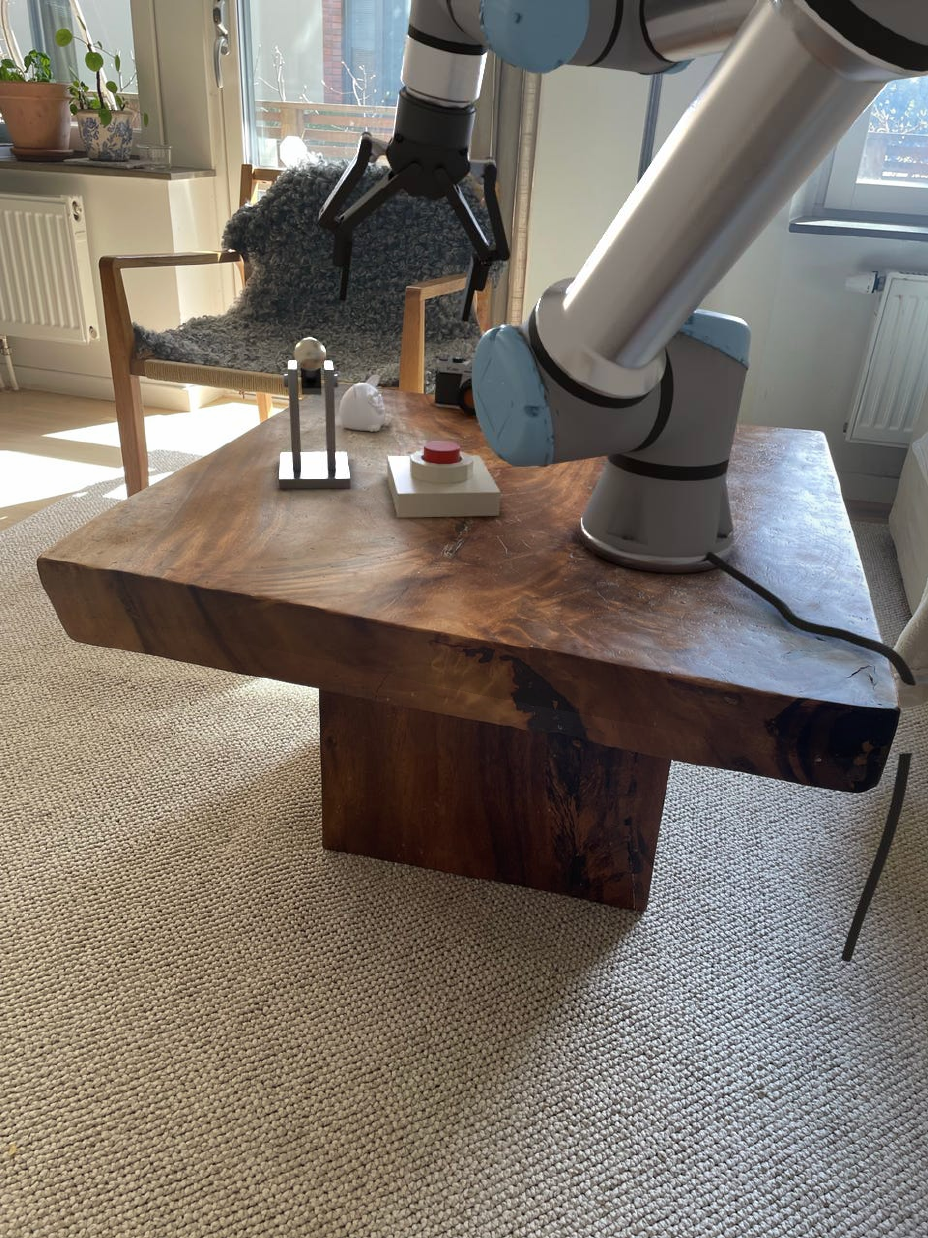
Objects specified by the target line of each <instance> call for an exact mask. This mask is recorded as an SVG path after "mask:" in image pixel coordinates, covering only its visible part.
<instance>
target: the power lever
mask: <svg viewBox="0 0 928 1238" xmlns="http://www.w3.org/2000/svg"><path fill="white" fill-rule="evenodd" d="M293 356H294V361H296V362H297V366H299V367H300V386H301V387H300V388H301V396H302V395H305V396H308V395H309V396H313V395H314V396H321V395H322V369H321V367H322V366H324V362H325V361H326V360H327V352H326V348H325V346H324V345H323V343H322V342H320V340H318V339H316V338H313V337H306V338H303V339H301V340H300V341H298V342H297V344H296V346H295V347H294V351H293Z"/></svg>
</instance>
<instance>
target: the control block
mask: <svg viewBox="0 0 928 1238" xmlns="http://www.w3.org/2000/svg"><path fill="white" fill-rule="evenodd" d="M386 457H387V458H386V463H387V464H386V467H387V468H386V471H387V472H386V473H387V474H386V477H387V482H388V486H389V490H390V494H391V498H392V502H393V505H394V510H395V513H396V517H397V518H452V517H454V518H455V517H456V518H457V517H499V516H500V505H501V491H500V489H499V487H498V485H497V483H496V482H495V481H494V478H493V476H492V475H491V473H490V472H489V470H488V468H487V466H486V464H485V463H484V461H483V459H482V457H481V456H480V455H471V454H469V453H466V452H465V451H462V450H460V462H458V463H453V464H435V463H429V462H427V461H424V449H421V450H416V451H415V452H413V453H411V454H410V455H387V456H386Z"/></svg>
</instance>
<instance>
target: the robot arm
mask: <svg viewBox="0 0 928 1238" xmlns="http://www.w3.org/2000/svg"><path fill="white" fill-rule="evenodd" d="M405 38H406V39H405V46H404V53H403V58H402V59H403V60H402V67H401V74H400V80H401V83H402V84H403V85H404V86H403V87H401V89H399V91H398V95H397V103H396V109H395V117H394V124H393V125H394V126H393V132H392V136H391V138H390V140H389V141H385V140H381V139H379V138H376V137H373V135H372V133H371V132H369V131H363V132H362V133H361V134H360V137H359V142H358V146H357V150H356V154H355V155H354V157H353V159H352V160H351V161H350V163H349V165H348V166H347V168H346V169H345V171H344V173H343V174H342V176H341V178H340V179H339V180H338V182H337V184H336V185H335V187H334V188H333V190H332V191H331V193H330V194H329V196H328V198H327V199H326V201H325V203H324V204H323V205H322V207H321V209H320V210H319V212H318V219H317V223H318V226H319V228H320V229H322V230H323V229H324V230H327V231H329V232H331V234H332V235H333V247H332V255H331V256H332V257H331V263H332V266H333V267H338V268H341V274H340V282H339V283H340V285H339V293H338V294H339V295H338V301H342V302H346V301H347V296H348V295H347V293H348V285H349V278H350V277H349V276H350V268H351V260H352V253H353V244H354V243H353V242H354V230H355V229H356V228H357V227H358V226H359V225H360V224H361V223H363V222H364V221H365V220H366V219H367V218H368V217H370V216H371V215H372V214H373V213H374V212H375V211H377V210H378V209H379V208H380V207H381V206H382V205H383V204H384V203H386V202H387V201H388V200H389V199H390V198H393V197H394V196H396V195H397V194H398V193H399V192H400V191H401V190H402V191H403V193H405V194H407V196H408V197H412V198H413V197H414V198H419V197H420V198H421V197H423V198H425V199H427V200H429V201H433V202H438V201H439V200H443V199H444V198H446V200H447V202H448V204H449V205H450V207H451V209H452V210H453V212H454V214H455V215H456V217H457V218H458V221H459V222H460V224H461V226H462V228H463V230H464V232H465V234H466V235H467V237H468V239H469V241H470V243H471V245H472V247H473V249H474V250H475V252H476V253H473V252H472V253H471V255H470V260H469V264H468V270H467V274H466V279H465V284H464V288H463V295H462V299H461V303H460V307H459V313H460V320H461V322H467V323H468V322H469V319H470V314H471V310H472V305H473V302H474V301H473V300H474V295H475V291H476V292H482V293H483V291H484V290H485V289H486V286H487V282H488V277H489V272H490V268H491V266H492V265H493V263H495V262H498V261H501V262H508V261H509V259H510V258H511V253H510V249H509V244H508V240H507V236H506V235H507V234H506V231H505V227H504V221H503V218H502V213H501V210H500V209H501V208H500V205H499V200H498V196H497V192H496V183H497V174H498V169H497V168H498V167H497V164H496V160H495V159H494V157H493V156H486V157H485V158H484V159H476V158H475V159H474V158H470V157H469V156H470V155H469V151H470V145H471V139H472V134H473V130H474V126H475V125H474V124H475V118H476V113H477V108H476V105H475V104H474V102H475V101H477V100H478V99H479V97H480V94H481V89H482V83H483V77H484V73H485V65H486V61H487V55H488V51H491V52H492V53H494V54H495V55H496V56H497V58H499V60H503V61H504V62H505V63H506V64H507V65H509V66H511V67H514V68H520V69H521V70H523V71H525V72H528V73H530V74H534V75H535V74H536V75H545V74H550V73H552V72H553V71H555V70H557V69H559V68H560V67H563V66H565V65H567V66H575V67H588V68H591V67H593V68H601V69H606V70H607V69H608V70H617V71H623V72H624V71H625V72H632V73H636V74H638V75H641V76H660V75H676V74H678V73H680V72H684V70H687V68H688V67H689V66H690V64H691V63H692V62H693V61H695V60H696V59H699V58H704V57H709V56H713V55H718V54H722V55H721V56H720V57H719V59H718V60H717V62H716V64H715V65H714V67H713V69H712V70H711V71H710V73H709V74H708V76H707V77H706V79H705V80H704V82H703V84H702V85H701V86H700V88H699V89H698V91H697V92H696V94H695V96H694V98H692V100H691V102H690V104H689V105H688V107H687V108H686V110H685V112H683V114H682V116H681V117H680V118H679V120H678V122H677V123H676V125H675V127H674V128H673V130H672V131H671V133H670V134H669V135H668V137H667V139H666V140H665V142H664V143H663V145H662V146H661V148H660V149H659V151H658V152H657V154H656V155H655V157H654V158H653V160H652V161H651V163H650V165H648V167H647V169H646V171H645V172H644V173H643V175H642V177H641V178H640V180H639V181H638V183H637V184H636V186H635V187H634V189H633V191H632V192H631V193H630V195H629V196H628V198H627V200H626V201H625V203H624V204H623V206H622V208H621V209H620V210H619V212H618V213H617V215H616V216H615V218H614V219H613V221H612V223H611V224H610V225H609V227H608V229H607V230H606V232H605V233H604V235H603V236H602V238H601V239H600V241H599V242H598V244H597V245H596V247H595V248H594V250H593V251H592V253H591V254H590V256H589V258H588V259H587V260H586V262H585V264H584V265H583V267H582V269H580V271H579V273H578V274H577V276H576V277H567V278H562V279H560V280H557V281H555V282H554V283H552V284H551V285H549V286H548V287H547V288H546V289H545V290H544V292H543V293H542V294H541V296H540V298H539V299H538V301H536V303H535V305H534V306H533V308H532V310H531V311H530V313H529V315H528V317H527V318H526V319H525V321H523V322H522V323H520V324H518V325H512V324H511V323H507V324H506V323H503V324H501V325H500V326H497V327H493V328H491V329H488V330H487V331H486V332H484V334H483V335H482V337H480V339H479V341H478V343H477V345H476V348H475V350H474V355H473V357H474V359H473V366H472V389H473V400H474V406H475V411H476V415H477V416H476V418H477V421H478V424H479V427H480V431H481V433H482V435H483V437H484V439H485V442H486V443H487V444H488V446H489V447H490V449H491V451H492V452H493V453H494V454H495V455H496V456H497V458H499V459H500V460H501V461H503V462H505V463H507V464H508V465H510V466H512V467H516V468H525V467H539V468H547V467H549V466H552V465H557V464H563V463H570V462H576V461H583V460H589V459H595V458H602V457H606V460H605V461H606V462H605V465H604V468H603V469H602V472H601V474H600V477H599V479H598V480H597V483H596V484H595V487H594V489H593V491H592V492H591V496H590V499H588V502H587V504H586V506H585V508H584V511H583V513H582V517H581V519H580V528H579V540H580V541H581V544H582V545H583V546H584V547H585V548H586V549H587V550H589V551H590V552H592V553H593V554H594V555H596V556H598V557H600V558H602V559H604V560H606V561H609V562H612V563H614V564H617V565H620V566H623V567H628V568H632V569H636V570H642V571H648V572H656V573H667V574H668V573H670V574H685V573H688V574H689V573H696V572H702V571H708V570H711V569H715V568H719V569H720V570H721V571H723V572H724V573H726V574H727V575H728V576H730V577H731V578H733V579H735V580H736V581H737V582H739V583H740V584H742V585H743V586H745V587H746V588H748V589H749V590H751V591H752V592H753V593H755V594H756V595H758V596H759V597H761V598H762V599H763V600H765V601H766V602H767V603H768V604H770V605H771V606H772V607H774V608H775V609H776V610H777V611H778V613H780V615H781V617H782V618H783V619H784V620H785V621H786V622H787V623H789V625H791V626H793V627H794V628H797V629H799V630H801V631H804V632H807V633H810V634H814V635H819V636H824V637H829V638H834V639H837V640H841V641H845V642H847V643H849V644H851V645H854V646H858V647H861V648H863V649H866V650H869V651H872V652H874V653H877V654H880V655H882V656H883V657H885V658H886V659H887V660H888V661H889V663H891V664H892V666H893V667H894V669H895V670H896V672H897V673H898V675H899V677H900V679H901V681H902V682H903V683H904V684H906V685H908V686H911V687H914V686H916V684H917V683H916V680H915V678H914V674H913V672H912V670H911V669H910V667H909V665H908V664H907V662H906V660H905V659H904V658H903V657H902V655H900V654H899V653H898V651H896V650H894V649H893V648H891V647H890V646H888V645H886V644H885V643H883V642H880V641H877V640H875V639H872V638H868V637H866V636H862V635H860V634H857V633H855V632H852V631H849V630H846V629H843V628H839V627H835V626H830V625H829V626H828V625H824V624H818V623H814V622H810V621H807V620H805V619H803V618H801V617H798V616H797V615H796V614H794V612H793V611H792V609H791V608H790V607H789V606H788V605H787V604H786V602H784V601H783V600H782V599H781V598H779V597H778V596H777V595H776V594H774V593H772V592H771V591H770V590H769V589H768V588H765V587H764V586H762V585H761V584H759V583H758V582H757V581H755V580H753V579H752V578H750V577H749V576H747V575H746V574H744V573H743V572H742V571H740V570H739V569H738V568H736V567H734V566H733V565H731V564H730V563H728V562H727V561H728V560H729V559H730V558H731V555H732V550H733V545H734V541H735V540H734V539H735V535H734V533H735V532H734V524H733V519H732V511H731V504H730V498H729V491H728V483H727V475H728V469H729V464H730V463H729V462H730V457H731V453H732V448H733V444H734V438H735V434H736V433H735V432H736V428H737V423H738V419H739V414H740V413H739V412H740V409H741V403H742V398H743V393H744V387H745V383H746V378H747V372H748V371H749V368H750V363H749V356H750V348H751V340H752V333H751V329H750V327H749V324H748V323H747V322H746V321H744V320H743V318H739V317H737V316H733V315H730V314H726V313H721V312H716V311H711V310H706V309H703V308H702V309H701V308H699V307H700V306H701V305H702V304H703V303H704V301H705V300H706V299H707V298H708V296H709V295H710V294H711V293H712V292H713V290H714V289H716V287H717V286H718V284H719V283H720V282H721V281H722V280H723V279H724V277H725V276H726V275H727V274H728V273H729V271H730V270H732V268H733V267H734V266H735V264H736V263H737V262H738V261H739V260H740V259H741V257H743V255H744V254H745V253H746V252H747V250H748V249H749V248H750V247H751V246H752V245H753V243H754V242H755V241H756V240H757V239H758V238H759V236H760V235H761V234H762V233H763V232H764V231H765V229H766V228H768V226H769V225H770V223H771V222H772V221H773V220H774V219H775V217H776V216H777V215H778V214H779V213H780V211H781V210H782V209H783V208H784V207H785V206H786V205H787V203H788V202H789V201H790V200H791V199H792V197H794V195H795V194H796V193H797V192H798V191H799V189H800V188H801V187H802V186H803V185H804V183H805V182H806V181H807V180H808V179H809V178H810V177H811V175H812V174H813V173H814V172H815V170H816V169H817V168H818V167H819V166H820V164H821V163H822V162H823V161H824V160H825V159H826V157H827V156H828V155H829V154H830V153H831V152H832V150H833V149H834V148H835V147H836V146H837V144H839V142H840V141H841V140H842V139H843V138H844V136H845V135H846V134H847V133H848V132H849V130H850V129H851V128H852V127H853V126H854V125H855V123H856V122H857V121H858V120H859V119H860V117H861V116H862V115H864V112H865V111H867V109H868V108H869V107H870V106H871V104H872V103H873V102H874V101H875V100H876V98H877V97H879V95H880V94H881V93H882V92H883V90H884V89H885V88H886V87H887V86H888V84H889V83H891V82H894V81H900V80H906V79H913V78H920V77H926V76H928V0H411V2H410V10H409V17H408V28H407V33H406V37H405ZM382 156H385V158H386V160H387V163H388V165H389V167H390V170H389V171H388V172H387V173H385V174H384V175H383V176H382V178H381V180H379V181H378V182H377V183H376V184H375V185H374V186H372V187H371V189H369V190H368V191H367V192H366V193H365V194H364V195H363V196H362V197H360V198H359V199H358V200H357V201H356V202H355V203H354V204H352V205H351V206H350V207H349V208H348V209H347V210H346V211H345V212H344V213H343V214H341V215H340V216H338V214H339V212H340V211H341V209H342V207H343V206H344V204H345V203H346V202H347V200H348V198H349V197H350V195H351V194H352V193H353V190H354V189H356V186H357V184H358V183H359V181H360V180H361V179H362V177H363V176H364V174H365V172H366V170H367V168H368V166H369V164H376V163H377V161H378V159H379V158H380V157H382ZM470 173H471V174H472V175H473V176H474V179H475V182H476V184H478V185H481V187H482V191H483V196H484V201H485V204H486V209H487V213H488V217H489V221H490V226H491V230H492V235H493V238H494V243H495V244H489V242H488V241H487V239H486V237H485V235H484V233H483V231H482V229H481V227H480V226H479V223H478V222H477V220H476V217H475V216H474V214H473V212H472V210H471V208H470V206H469V205H468V203H467V200H466V199H465V197H464V195H463V193H462V190H461V188H460V185H459V184H460V183H461V182H462V181H463V180H464V179H465V178H466V177H467V176H468V175H469V174H470ZM911 761H912V752H907V753H906V752H905V753H904V752H903V753H899V755H898V762H897V768H896V775H895V780H894V788H893V792H892V796H891V800H890V805H889V809H888V810H889V811H888V812H887V813H888V814H887V817H886V822H885V825H884V828H883V831H882V835H881V838H880V841H879V844H878V848H877V851H876V853H875V857H874V860H873V863H872V866H871V868H870V871H869V874H868V877H867V879H866V882H865V885H864V887H863V890H862V893H861V896H860V898H859V901H858V904H857V906H856V909H855V912H854V915H853V917H852V921H851V923H850V927H849V930H848V932H847V937H846V940H845V943H844V946H843V950H842V953H841V956H840V958H841V960H842V961H843V962H845V963H851V961H852V959H853V955H854V952H855V948H856V946H857V942H858V939H859V936H860V933H861V930H862V927H863V924H864V921H865V919H866V916H867V913H868V910H869V908H870V904H871V902H872V899H873V897H874V894H875V892H876V889H877V886H878V883H879V880H880V878H881V876H882V873H883V870H884V867H885V864H886V862H887V859H888V856H889V854H890V850H891V848H892V845H893V840H894V837H895V835H896V831H897V828H898V824H899V820H900V816H901V813H902V808H903V804H904V800H905V795H906V790H907V785H908V779H909V774H910V768H911Z"/></svg>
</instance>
